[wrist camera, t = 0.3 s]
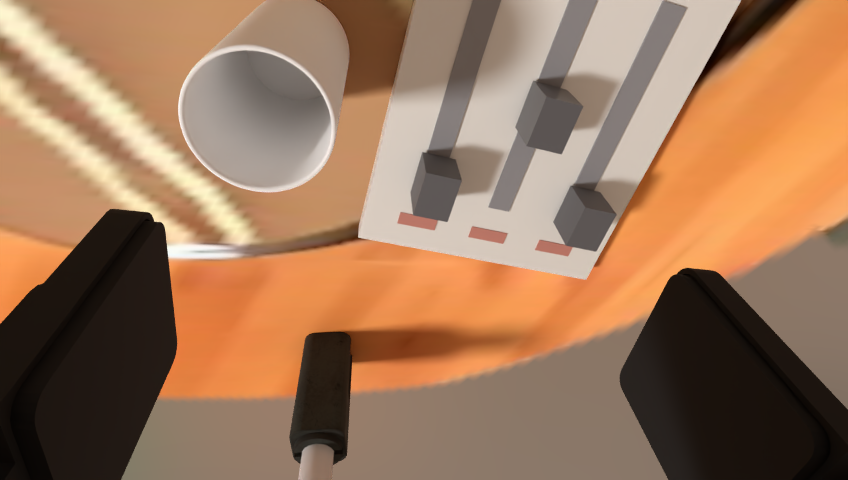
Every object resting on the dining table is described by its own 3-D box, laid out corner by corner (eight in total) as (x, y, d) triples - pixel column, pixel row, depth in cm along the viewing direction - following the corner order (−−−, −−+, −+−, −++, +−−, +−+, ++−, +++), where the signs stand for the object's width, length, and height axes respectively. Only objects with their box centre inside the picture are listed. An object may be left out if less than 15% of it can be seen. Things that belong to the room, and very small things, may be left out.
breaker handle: (533, 80, 41) (546, 96, 38) (566, 89, 42) (583, 106, 38) (515, 126, 43) (526, 146, 40) (547, 135, 44) (561, 154, 40)
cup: (370, 42, 41) (366, 112, 28) (312, 120, 44) (284, 217, 31) (278, -32, 38) (225, 8, 24) (224, 59, 41) (150, 137, 27)
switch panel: (457, -179, 34) (472, -193, 28) (760, -66, 39) (821, -60, 33) (358, 226, 50) (356, 265, 45) (579, 268, 55) (601, 307, 50)
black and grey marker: (352, 363, 61) (340, 605, 40) (309, 365, 60) (273, 610, 40) (350, 331, 58) (334, 574, 37) (304, 333, 57) (262, 579, 37)
